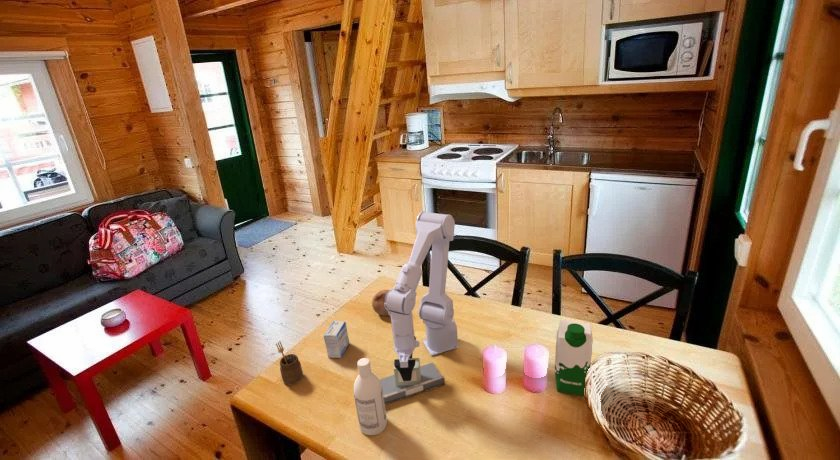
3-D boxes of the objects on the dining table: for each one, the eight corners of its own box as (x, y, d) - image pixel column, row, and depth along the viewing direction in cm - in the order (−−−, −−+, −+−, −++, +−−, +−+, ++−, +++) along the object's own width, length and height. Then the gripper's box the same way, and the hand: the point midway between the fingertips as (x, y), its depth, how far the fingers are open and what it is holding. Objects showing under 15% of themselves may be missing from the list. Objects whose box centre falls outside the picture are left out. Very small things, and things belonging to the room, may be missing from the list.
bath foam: (373, 409, 107) (364, 348, 100) (392, 422, 103) (384, 359, 95) (354, 427, 102) (342, 364, 95) (373, 441, 98) (362, 376, 90)
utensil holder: (292, 388, 117) (284, 354, 112) (278, 381, 120) (269, 348, 115) (307, 375, 121) (300, 342, 117) (293, 368, 124) (285, 336, 120)
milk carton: (553, 393, 107) (557, 331, 100) (554, 370, 115) (558, 311, 108) (588, 400, 105) (595, 336, 97) (587, 375, 112) (593, 315, 105)
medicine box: (340, 358, 127) (336, 336, 124) (327, 357, 128) (323, 335, 125) (349, 342, 134) (345, 321, 131) (337, 342, 135) (333, 320, 132)
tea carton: (396, 375, 117) (394, 359, 115) (420, 374, 117) (419, 357, 114) (395, 386, 113) (393, 369, 111) (420, 385, 113) (419, 367, 111)
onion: (382, 325, 147) (372, 310, 140) (374, 307, 154) (364, 292, 147) (405, 311, 148) (395, 296, 141) (396, 294, 155) (386, 279, 148)
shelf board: (432, 364, 121) (432, 357, 120) (445, 384, 113) (444, 377, 112) (368, 385, 115) (367, 378, 115) (376, 408, 107) (375, 401, 106)
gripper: (417, 346, 102) (421, 388, 107) (418, 313, 115) (421, 352, 120) (389, 348, 102) (395, 390, 107) (393, 315, 115) (398, 353, 120)
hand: (407, 370), depth 114 cm, fingers open, 7 cm apart
